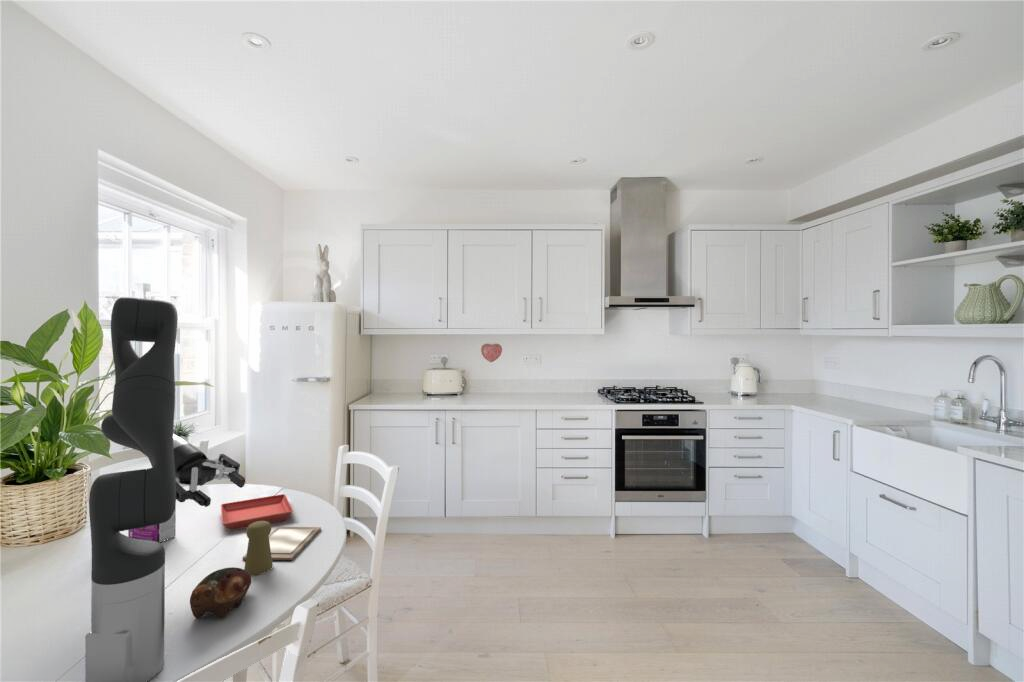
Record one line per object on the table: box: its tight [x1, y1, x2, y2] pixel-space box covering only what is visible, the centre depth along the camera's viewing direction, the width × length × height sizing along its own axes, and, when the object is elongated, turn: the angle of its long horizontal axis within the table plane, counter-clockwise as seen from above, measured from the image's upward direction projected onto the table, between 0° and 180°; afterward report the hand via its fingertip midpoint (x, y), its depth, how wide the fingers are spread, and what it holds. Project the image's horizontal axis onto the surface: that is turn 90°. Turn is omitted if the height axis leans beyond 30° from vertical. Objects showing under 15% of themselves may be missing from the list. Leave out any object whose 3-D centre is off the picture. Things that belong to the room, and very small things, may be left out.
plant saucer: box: [220, 493, 294, 531], centre depth 140 cm, size 18×18×3 cm
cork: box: [243, 521, 274, 576], centre depth 109 cm, size 6×6×11 cm
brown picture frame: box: [242, 526, 322, 561], centre depth 122 cm, size 18×12×1 cm, turn 1°
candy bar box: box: [127, 503, 177, 544], centre depth 125 cm, size 11×5×16 cm, turn 74°
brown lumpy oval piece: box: [189, 566, 252, 620], centre depth 93 cm, size 10×15×8 cm, turn 1°
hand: (226, 493), depth 105 cm, fingers open, 8 cm apart
